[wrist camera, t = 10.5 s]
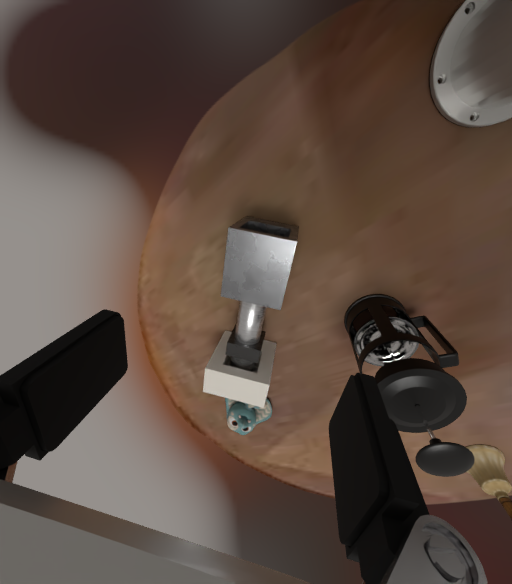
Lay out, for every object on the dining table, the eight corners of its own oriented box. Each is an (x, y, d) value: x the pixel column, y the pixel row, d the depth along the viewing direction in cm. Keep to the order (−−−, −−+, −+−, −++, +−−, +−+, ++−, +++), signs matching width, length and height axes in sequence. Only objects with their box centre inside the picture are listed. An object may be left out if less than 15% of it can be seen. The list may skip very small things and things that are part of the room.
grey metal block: (246, 216, 37) (228, 227, 28) (298, 226, 36) (297, 241, 27) (239, 270, 41) (220, 296, 32) (285, 281, 40) (280, 310, 31)
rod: (245, 261, 37) (236, 273, 32) (279, 269, 36) (275, 282, 31) (230, 359, 45) (221, 379, 40) (258, 366, 44) (252, 387, 40)
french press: (347, 348, 44) (386, 499, 23) (334, 303, 40) (364, 431, 20) (421, 334, 40) (545, 499, 19) (413, 283, 37) (550, 415, 16)
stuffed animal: (285, 414, 46) (254, 456, 49) (284, 389, 53) (257, 428, 56) (234, 387, 45) (207, 432, 48) (240, 366, 52) (216, 406, 55)
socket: (225, 330, 47) (205, 368, 37) (276, 342, 46) (269, 385, 36) (222, 350, 49) (203, 391, 39) (271, 363, 48) (263, 407, 38)
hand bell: (464, 440, 47) (534, 552, 33) (512, 450, 46) (605, 570, 32) (446, 465, 51) (502, 577, 37) (490, 475, 50) (565, 594, 36)
